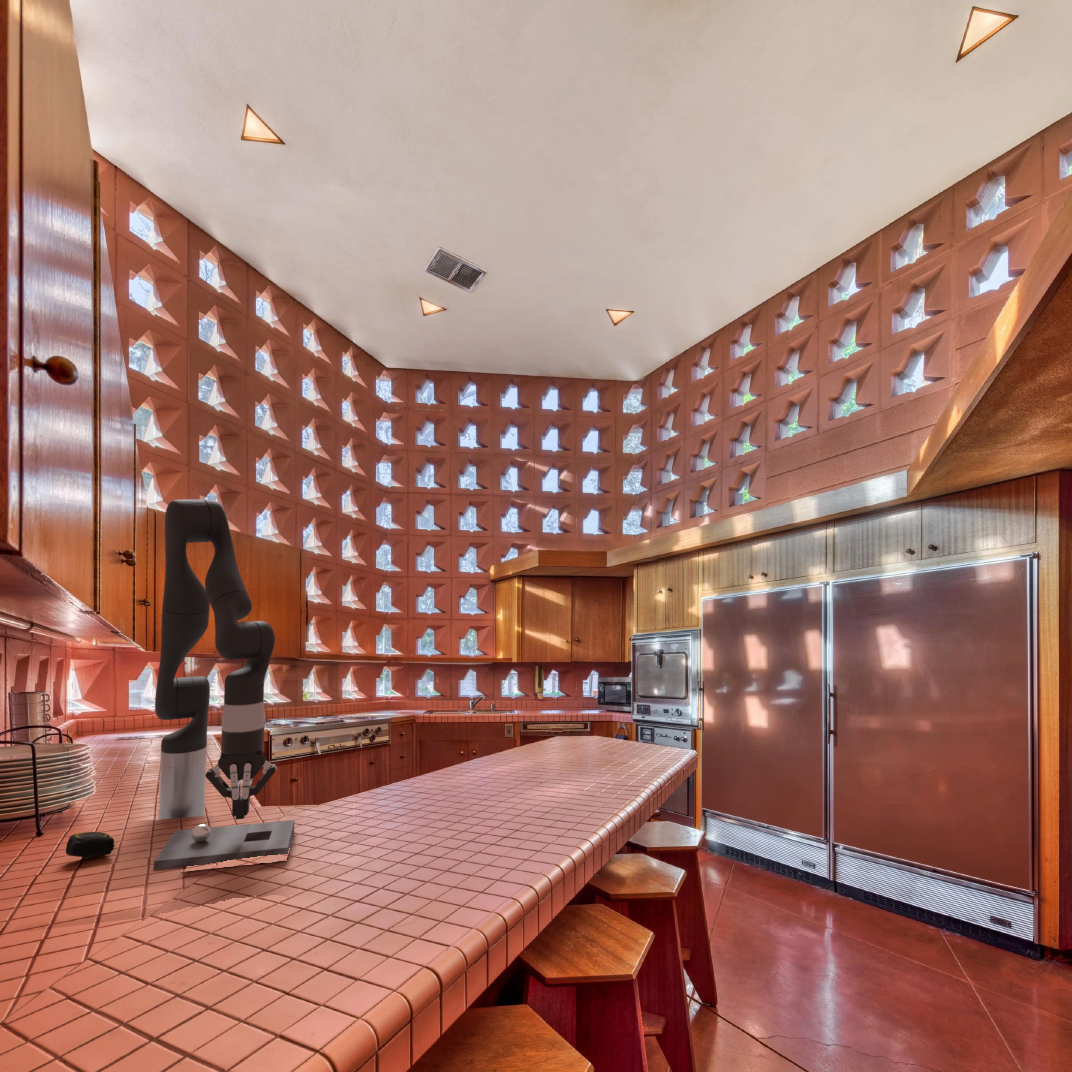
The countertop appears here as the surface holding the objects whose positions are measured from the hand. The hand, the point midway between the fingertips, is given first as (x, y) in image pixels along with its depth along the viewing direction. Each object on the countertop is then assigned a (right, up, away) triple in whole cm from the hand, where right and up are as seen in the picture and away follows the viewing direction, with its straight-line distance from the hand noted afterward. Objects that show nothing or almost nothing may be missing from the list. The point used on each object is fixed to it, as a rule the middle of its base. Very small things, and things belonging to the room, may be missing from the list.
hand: (240, 817), depth 125 cm
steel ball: (-7, -2, -2) cm, 7 cm away
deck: (-2, -6, -1) cm, 7 cm away
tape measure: (-26, -6, -7) cm, 27 cm away
